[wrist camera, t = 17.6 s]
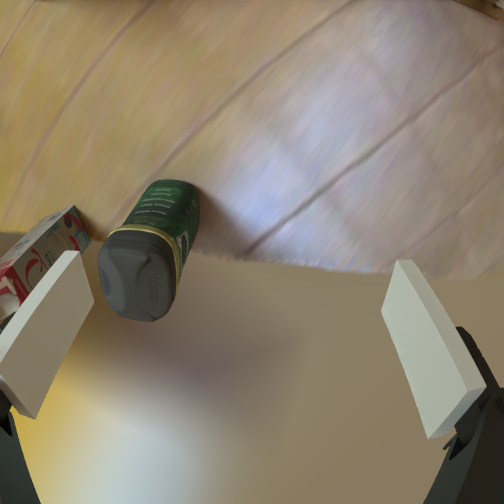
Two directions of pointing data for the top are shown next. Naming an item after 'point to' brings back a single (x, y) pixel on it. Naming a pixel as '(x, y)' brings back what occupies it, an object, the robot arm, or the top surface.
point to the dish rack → (486, 6)
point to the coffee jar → (150, 251)
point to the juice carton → (38, 256)
